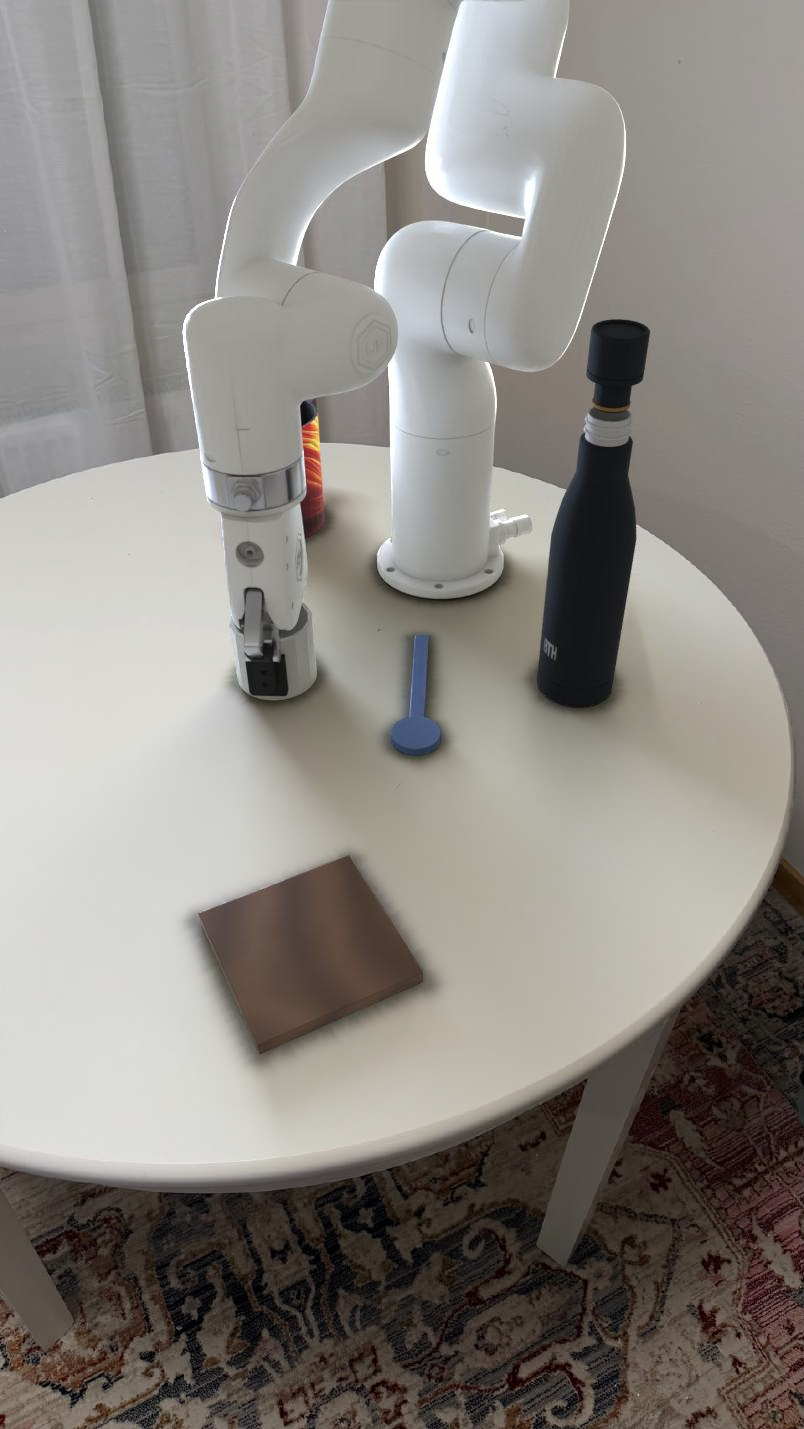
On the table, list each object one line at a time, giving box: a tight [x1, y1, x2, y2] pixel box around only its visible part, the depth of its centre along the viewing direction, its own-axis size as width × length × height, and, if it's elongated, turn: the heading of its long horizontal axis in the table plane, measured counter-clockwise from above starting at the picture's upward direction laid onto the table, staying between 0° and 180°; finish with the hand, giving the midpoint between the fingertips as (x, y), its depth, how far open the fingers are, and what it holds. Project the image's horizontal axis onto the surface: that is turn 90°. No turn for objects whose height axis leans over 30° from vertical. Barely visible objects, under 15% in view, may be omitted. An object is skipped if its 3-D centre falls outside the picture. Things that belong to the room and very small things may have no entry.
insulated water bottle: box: [536, 318, 651, 708], centre depth 76 cm, size 6×6×30 cm
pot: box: [229, 601, 318, 701], centre depth 85 cm, size 7×7×6 cm
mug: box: [300, 398, 326, 540], centre depth 105 cm, size 10×14×12 cm
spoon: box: [390, 634, 442, 756], centre depth 85 cm, size 16×4×1 cm, turn 177°
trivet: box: [197, 854, 424, 1055], centre depth 65 cm, size 11×11×1 cm
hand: (276, 664), depth 86 cm, fingers closed on pot, 7 cm apart
